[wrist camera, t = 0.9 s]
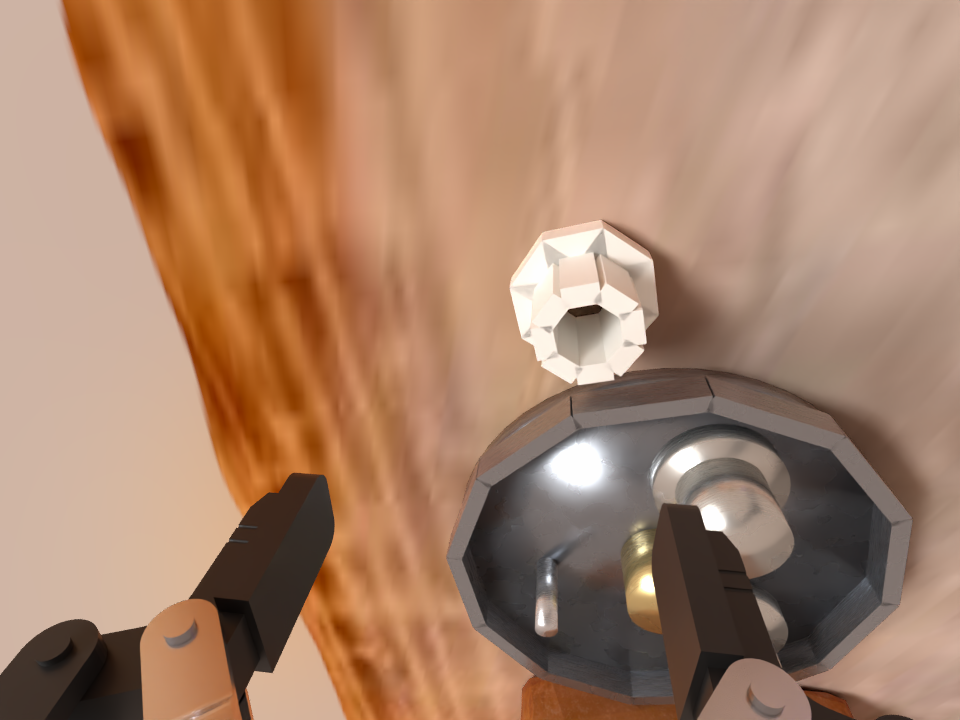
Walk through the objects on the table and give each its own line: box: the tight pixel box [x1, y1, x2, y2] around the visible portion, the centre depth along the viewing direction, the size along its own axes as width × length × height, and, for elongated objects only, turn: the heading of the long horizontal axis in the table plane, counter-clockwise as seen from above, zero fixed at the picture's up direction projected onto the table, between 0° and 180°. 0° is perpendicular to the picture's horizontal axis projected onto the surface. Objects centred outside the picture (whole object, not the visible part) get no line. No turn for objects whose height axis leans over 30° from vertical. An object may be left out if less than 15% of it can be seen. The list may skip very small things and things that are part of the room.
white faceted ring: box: [510, 220, 659, 385], centre depth 27 cm, size 7×7×6 cm
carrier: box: [446, 368, 913, 705], centre depth 35 cm, size 27×27×7 cm
